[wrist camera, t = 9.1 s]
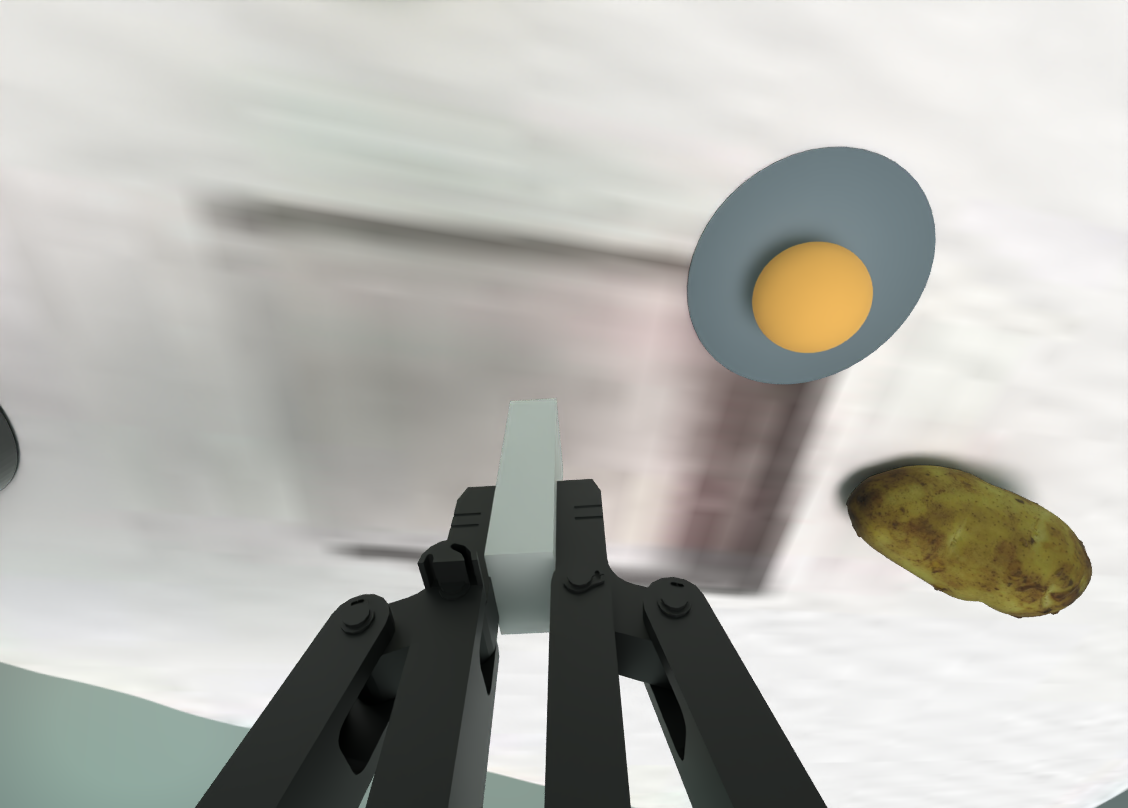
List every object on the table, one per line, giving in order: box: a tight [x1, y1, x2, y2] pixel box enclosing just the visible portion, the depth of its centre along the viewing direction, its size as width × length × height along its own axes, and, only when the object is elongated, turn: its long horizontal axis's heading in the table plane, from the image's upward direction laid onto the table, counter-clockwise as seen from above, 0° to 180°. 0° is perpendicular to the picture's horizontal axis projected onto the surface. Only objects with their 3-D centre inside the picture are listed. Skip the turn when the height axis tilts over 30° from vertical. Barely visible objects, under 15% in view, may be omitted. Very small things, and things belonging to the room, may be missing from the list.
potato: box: [846, 465, 1092, 618], centre depth 33 cm, size 8×13×8 cm, turn 57°
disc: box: [687, 147, 936, 384], centre depth 29 cm, size 13×13×1 cm
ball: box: [752, 242, 873, 353], centre depth 26 cm, size 6×6×6 cm
